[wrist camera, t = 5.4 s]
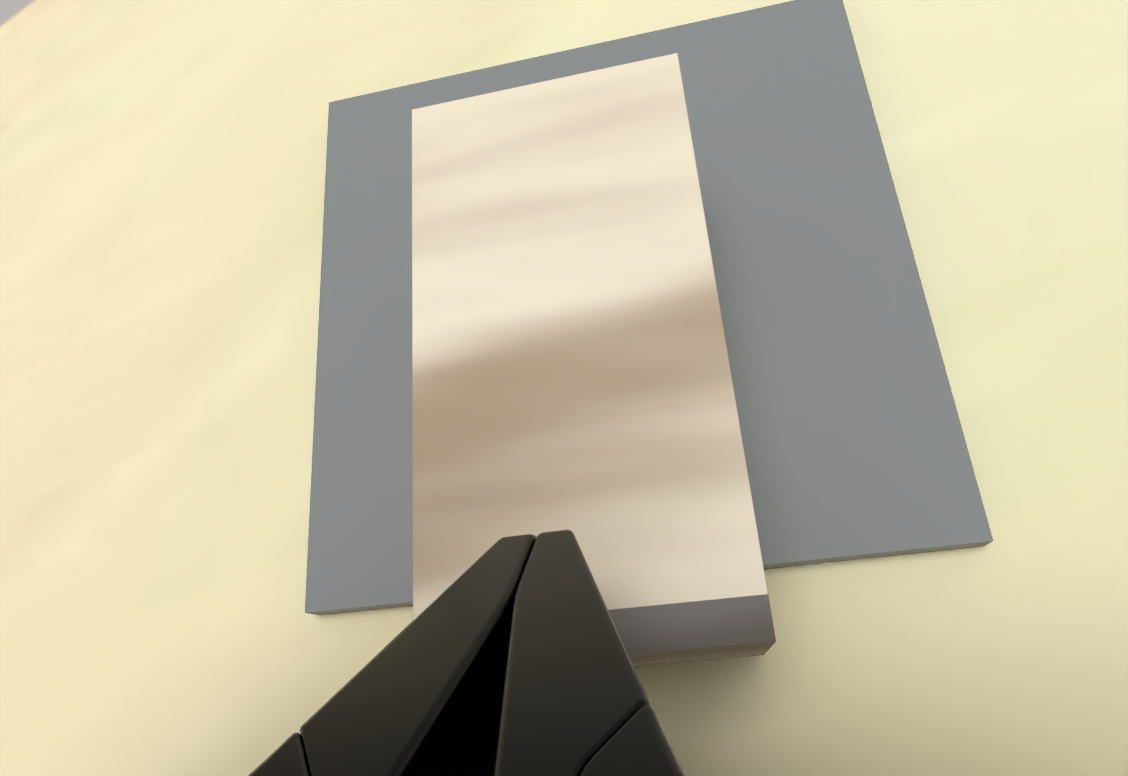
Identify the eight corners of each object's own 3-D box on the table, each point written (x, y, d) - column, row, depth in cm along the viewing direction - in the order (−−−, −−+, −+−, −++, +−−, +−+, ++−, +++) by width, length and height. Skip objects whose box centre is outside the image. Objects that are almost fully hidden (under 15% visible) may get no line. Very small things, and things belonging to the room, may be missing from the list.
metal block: (775, 641, 10) (677, 52, 14) (413, 673, 11) (412, 109, 15) (763, 654, 15) (691, 209, 18) (508, 676, 16) (489, 246, 19)
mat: (983, 546, 15) (993, 540, 15) (318, 614, 17) (304, 612, 17) (837, 9, 20) (839, -10, 20) (339, 116, 23) (329, 102, 22)
